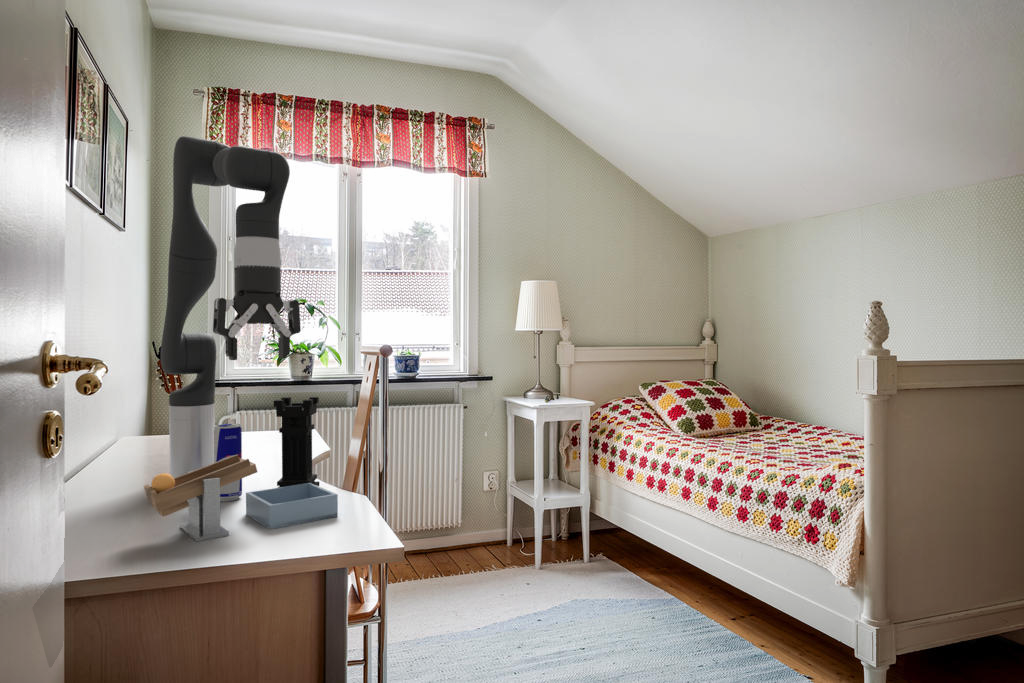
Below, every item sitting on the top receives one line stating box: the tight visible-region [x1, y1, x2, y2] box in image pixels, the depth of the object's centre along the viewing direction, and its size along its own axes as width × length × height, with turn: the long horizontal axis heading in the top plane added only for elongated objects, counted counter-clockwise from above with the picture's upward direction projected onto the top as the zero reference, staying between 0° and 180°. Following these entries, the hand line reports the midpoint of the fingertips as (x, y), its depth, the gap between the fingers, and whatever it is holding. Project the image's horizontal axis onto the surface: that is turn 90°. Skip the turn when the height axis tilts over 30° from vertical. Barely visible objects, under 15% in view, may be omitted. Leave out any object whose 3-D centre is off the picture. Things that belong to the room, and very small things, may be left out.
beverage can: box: [214, 423, 243, 502], centre depth 134 cm, size 5×5×15 cm
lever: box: [143, 454, 258, 517], centre depth 114 cm, size 11×16×4 cm
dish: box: [245, 483, 339, 530], centre depth 122 cm, size 12×12×4 cm
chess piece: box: [273, 396, 320, 488], centre depth 135 cm, size 8×8×20 cm
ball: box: [150, 472, 175, 493], centre depth 108 cm, size 3×3×3 cm
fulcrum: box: [179, 471, 230, 542], centre depth 112 cm, size 10×5×10 cm, turn 40°
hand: (258, 359), depth 116 cm, fingers open, 8 cm apart
